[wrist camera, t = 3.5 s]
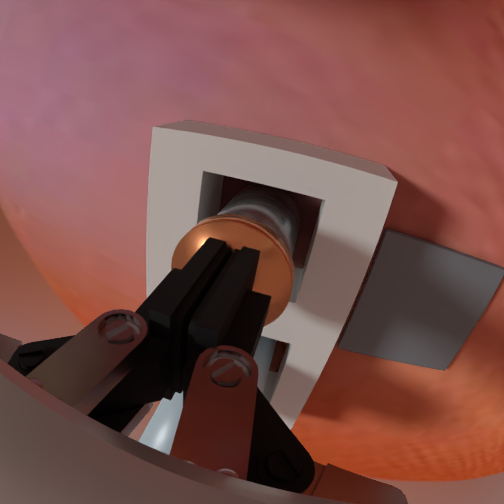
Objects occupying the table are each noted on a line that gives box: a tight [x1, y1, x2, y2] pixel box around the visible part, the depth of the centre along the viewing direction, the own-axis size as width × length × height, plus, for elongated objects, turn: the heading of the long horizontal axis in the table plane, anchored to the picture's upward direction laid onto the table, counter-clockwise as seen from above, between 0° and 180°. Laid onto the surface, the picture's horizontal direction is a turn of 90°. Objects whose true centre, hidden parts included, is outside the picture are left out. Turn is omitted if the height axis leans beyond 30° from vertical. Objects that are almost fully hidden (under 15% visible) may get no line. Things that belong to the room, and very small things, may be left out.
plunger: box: [171, 183, 301, 326], centre depth 13 cm, size 4×4×6 cm
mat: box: [338, 228, 504, 371], centre depth 16 cm, size 8×8×1 cm
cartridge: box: [139, 336, 277, 455], centre depth 15 cm, size 5×5×12 cm
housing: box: [146, 120, 398, 430], centre depth 17 cm, size 10×18×3 cm, turn 169°
